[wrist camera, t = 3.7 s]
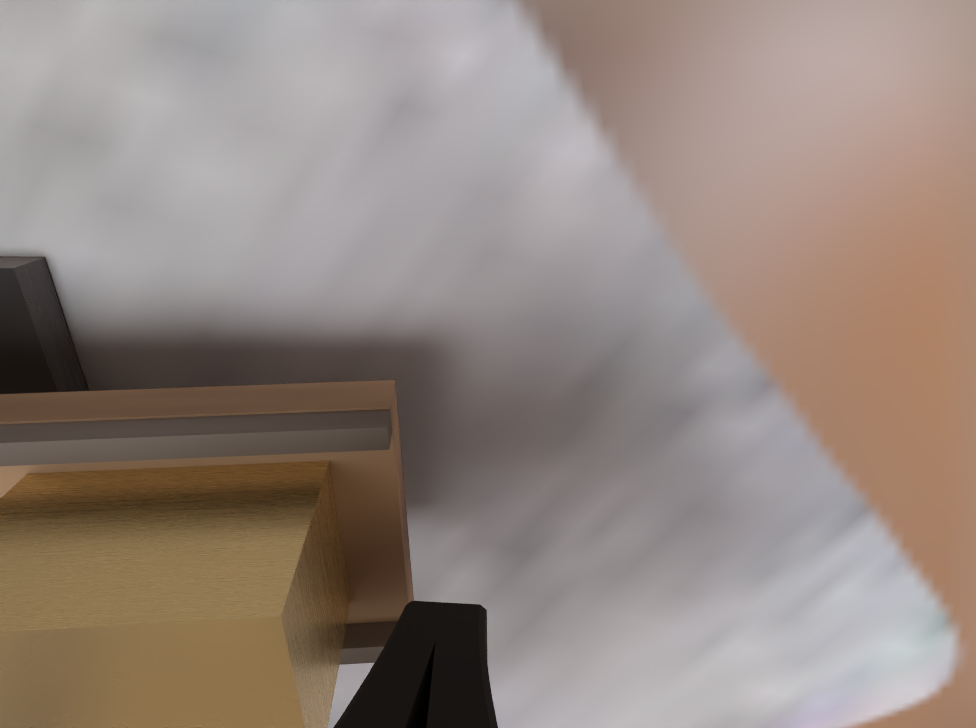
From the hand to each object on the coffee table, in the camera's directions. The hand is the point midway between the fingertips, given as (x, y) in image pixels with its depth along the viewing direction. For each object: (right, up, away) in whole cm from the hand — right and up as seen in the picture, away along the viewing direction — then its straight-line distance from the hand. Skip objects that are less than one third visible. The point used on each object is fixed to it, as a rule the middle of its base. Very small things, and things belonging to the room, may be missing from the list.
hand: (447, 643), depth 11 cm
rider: (-6, +1, +2) cm, 6 cm away
